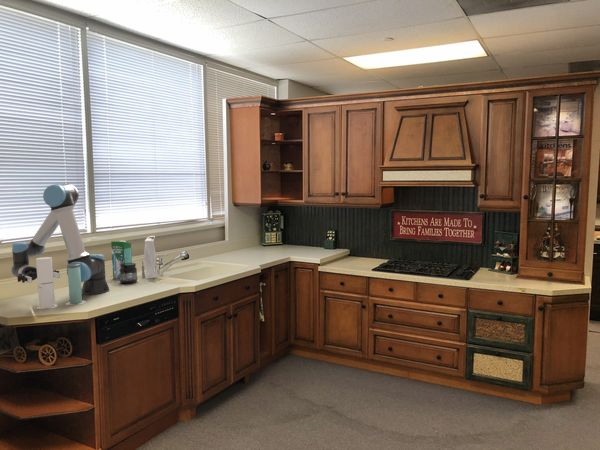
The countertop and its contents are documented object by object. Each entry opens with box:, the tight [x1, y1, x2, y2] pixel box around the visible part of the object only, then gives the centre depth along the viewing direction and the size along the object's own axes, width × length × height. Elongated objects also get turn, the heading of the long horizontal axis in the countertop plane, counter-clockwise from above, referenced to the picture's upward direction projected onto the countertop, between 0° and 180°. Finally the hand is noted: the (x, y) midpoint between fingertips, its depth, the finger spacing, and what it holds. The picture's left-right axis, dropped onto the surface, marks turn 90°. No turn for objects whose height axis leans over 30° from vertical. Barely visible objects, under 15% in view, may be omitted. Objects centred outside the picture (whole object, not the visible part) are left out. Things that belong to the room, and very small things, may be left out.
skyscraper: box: [141, 235, 158, 280], centre depth 326 cm, size 8×8×28 cm
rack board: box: [36, 299, 87, 310], centre depth 254 cm, size 24×12×1 cm, turn 123°
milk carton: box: [110, 240, 133, 280], centre depth 328 cm, size 9×9×25 cm
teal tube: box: [66, 264, 83, 305], centre depth 257 cm, size 6×6×20 cm
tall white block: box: [35, 256, 56, 310], centre depth 249 cm, size 7×7×25 cm
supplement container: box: [119, 262, 138, 285], centre depth 313 cm, size 10×10×12 cm
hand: (45, 277), depth 249 cm, fingers open, 13 cm apart
